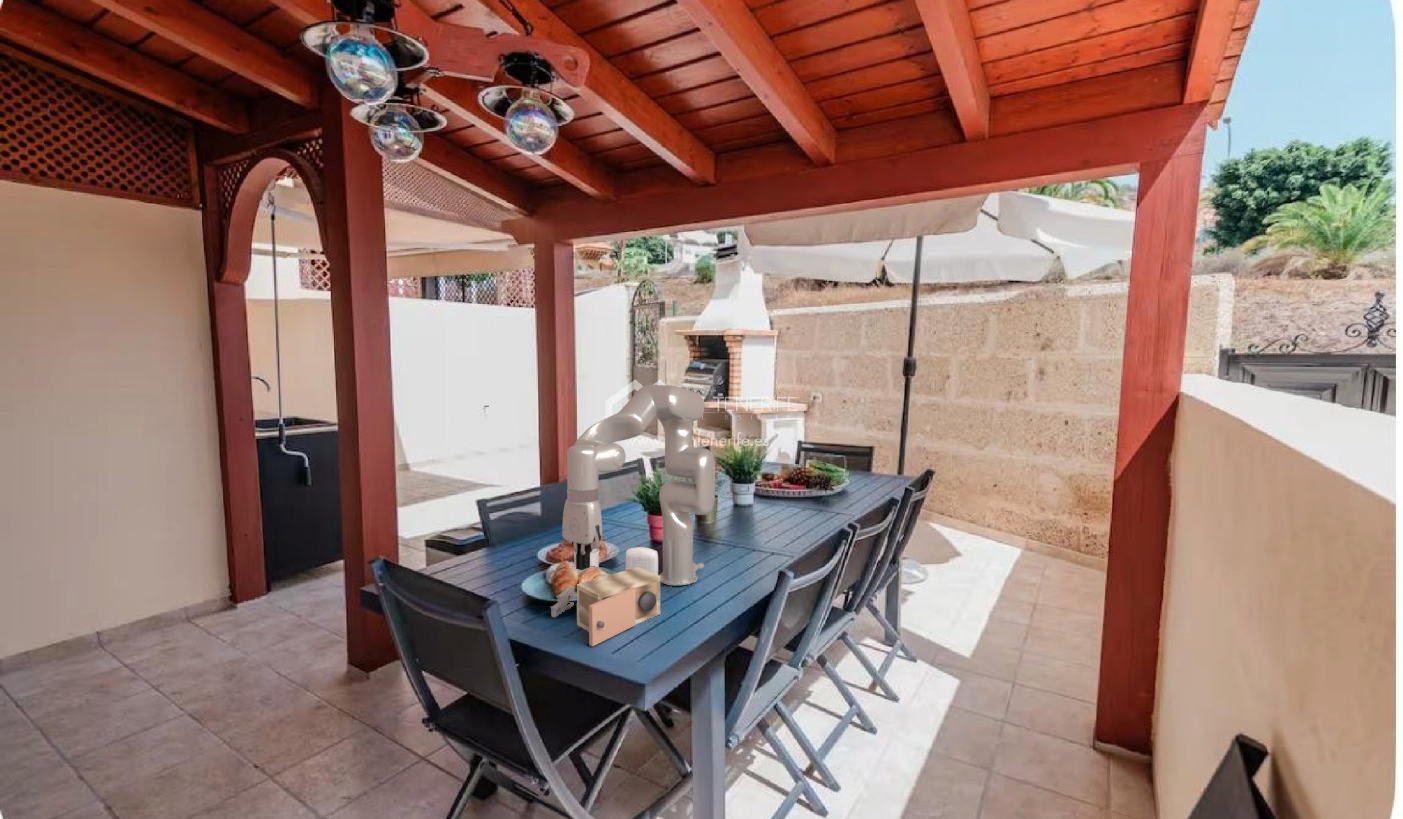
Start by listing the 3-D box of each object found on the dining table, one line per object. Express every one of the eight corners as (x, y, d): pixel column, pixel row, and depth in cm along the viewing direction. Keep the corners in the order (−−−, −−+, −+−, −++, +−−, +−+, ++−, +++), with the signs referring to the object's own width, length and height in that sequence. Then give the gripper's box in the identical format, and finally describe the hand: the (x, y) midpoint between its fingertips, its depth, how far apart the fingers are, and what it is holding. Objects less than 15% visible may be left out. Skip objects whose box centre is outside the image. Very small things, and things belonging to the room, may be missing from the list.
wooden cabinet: (638, 604, 178) (637, 566, 177) (663, 616, 170) (663, 577, 169) (577, 625, 165) (576, 584, 164) (601, 639, 156) (601, 596, 155)
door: (632, 624, 164) (631, 587, 163) (638, 626, 163) (638, 589, 162) (589, 645, 152) (588, 605, 151) (596, 647, 151) (595, 608, 150)
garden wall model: (555, 618, 169) (555, 597, 168) (549, 617, 169) (549, 596, 169) (579, 602, 180) (579, 582, 179) (574, 601, 181) (574, 581, 180)
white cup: (601, 577, 200) (600, 546, 199) (597, 586, 192) (597, 554, 191) (576, 577, 200) (575, 547, 199) (571, 586, 192) (571, 555, 191)
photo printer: (659, 586, 193) (659, 546, 192) (656, 591, 188) (655, 551, 187) (627, 583, 195) (627, 544, 194) (623, 588, 191) (623, 548, 189)
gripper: (551, 494, 156) (551, 566, 157) (592, 502, 147) (592, 579, 148) (574, 489, 162) (574, 559, 163) (615, 497, 153) (615, 571, 154)
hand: (583, 568), depth 156 cm, fingers closed
